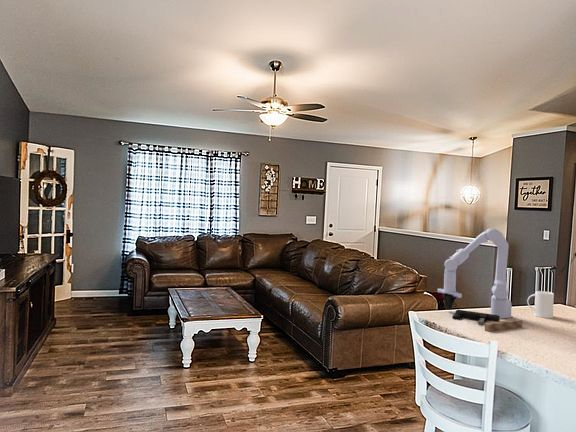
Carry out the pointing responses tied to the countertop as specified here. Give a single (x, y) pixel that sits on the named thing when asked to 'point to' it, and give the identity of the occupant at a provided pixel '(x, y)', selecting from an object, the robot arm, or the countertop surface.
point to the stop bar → (503, 325)
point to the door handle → (475, 316)
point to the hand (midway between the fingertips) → (448, 309)
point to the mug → (543, 304)
